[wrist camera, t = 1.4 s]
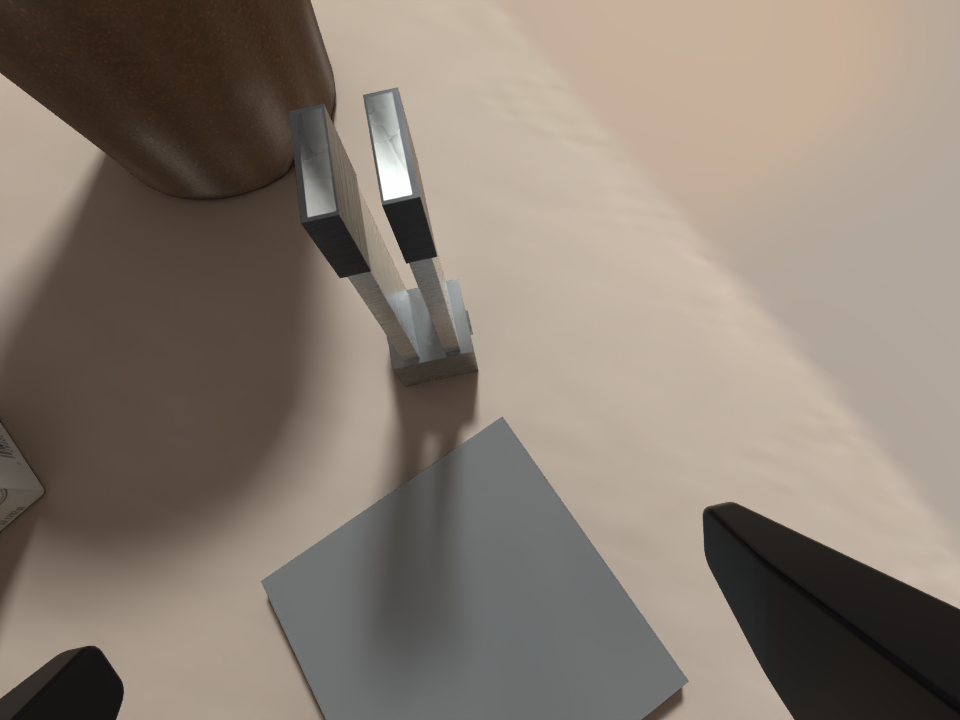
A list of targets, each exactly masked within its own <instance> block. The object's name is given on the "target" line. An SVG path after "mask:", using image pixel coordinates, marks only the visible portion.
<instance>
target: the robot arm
mask: <svg viewBox="0 0 960 720" xmlns="http://www.w3.org/2000/svg"><path fill="white" fill-rule="evenodd" d="M703 532H704V551H705V556H706V560H707V563H708V565H709V567H710V570H711V571H712V573H713V575H714V577H715V579H716V581H717V583H718V585H719V587H720V589H721V591H722V593H723V595H724V596H725V598H726V600H727V602H728V604H729V606H730V608H731V610H732V612H733V614H734V616H735V618H736V619H737V621H738V623H739V625H740V627H741V629H742V631H743V633H744V635H745V637H746V639H747V641H748V643H749V644H750V646H751V648H752V650H753V652H754V654H755V656H756V658H757V660H758V661H759V663H760V665H761V667H762V669H763V671H764V672H765V674H766V676H767V677H768V679H769V681H770V682H771V684H772V685H773V687H774V689H775V690H776V692H777V693H778V695H779V697H780V698H781V700H782V701H783V703H784V704H785V706H786V707H787V709H788V710H789V712H790V714H791V715H792V717H793V718H794V720H960V609H958V608H956V607H954V606H952V605H950V604H948V603H946V602H944V601H941V600H939V599H937V598H935V597H933V596H931V595H929V594H927V593H925V592H922V591H920V590H918V589H916V588H914V587H912V586H910V585H908V584H906V583H903V582H901V581H899V580H897V579H895V578H893V577H891V576H889V575H887V574H885V573H882V572H880V571H878V570H876V569H874V568H872V567H870V566H868V565H866V564H863V563H861V562H859V561H857V560H855V559H853V558H851V557H849V556H847V555H844V554H842V553H840V552H838V551H836V550H834V549H832V548H830V547H828V546H825V545H823V544H821V543H819V542H817V541H815V540H813V539H811V538H809V537H807V536H804V535H802V534H800V533H798V532H796V531H794V530H792V529H790V528H788V527H785V526H783V525H781V524H779V523H777V522H775V521H773V520H771V519H769V518H766V517H764V516H762V515H760V514H758V513H756V512H754V511H752V510H750V509H747V508H745V507H743V506H741V505H739V504H737V503H734V502H726V503H721V504H717V505H713V506H708V507H707V508H705V509H704V512H703ZM123 695H124V687H123V683H122V681H121V679H120V677H119V676H118V674H117V673H116V672H115V670H114V669H113V667H112V666H111V664H110V663H109V661H108V660H107V658H106V657H105V655H104V654H103V652H102V651H101V650H100V649H99V648H97V647H95V646H85V647H81V648H76V649H72V650H68V651H65V652H62V653H60V654H59V655H57V656H56V657H54V658H53V659H52V660H50V661H49V662H48V663H46V664H45V665H44V666H43V667H41V668H40V669H39V670H37V671H36V672H35V673H33V674H32V675H31V676H29V677H28V678H27V679H26V680H24V681H23V682H22V683H20V684H19V685H18V686H16V687H15V688H14V689H12V690H11V691H10V692H9V693H7V694H6V695H5V696H3V697H2V698H1V699H0V720H116V719H117V716H118V713H119V710H120V707H121V704H122V701H123Z"/></svg>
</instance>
